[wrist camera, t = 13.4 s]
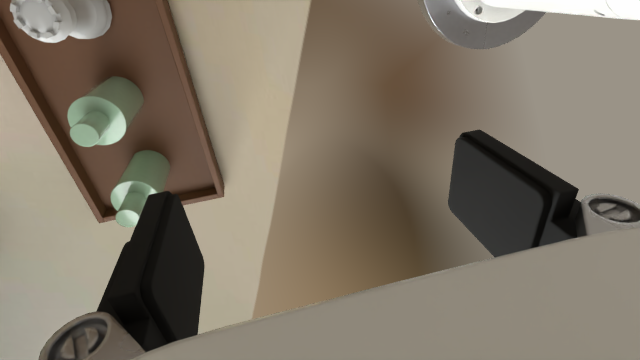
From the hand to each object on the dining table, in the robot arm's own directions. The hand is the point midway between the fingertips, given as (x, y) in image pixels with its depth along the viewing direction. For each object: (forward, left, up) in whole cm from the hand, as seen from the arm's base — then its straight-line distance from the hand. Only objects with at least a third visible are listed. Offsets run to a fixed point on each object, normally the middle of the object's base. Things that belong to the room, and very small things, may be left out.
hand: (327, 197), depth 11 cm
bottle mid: (+14, +2, -25) cm, 29 cm away
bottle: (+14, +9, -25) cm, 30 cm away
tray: (+14, +2, -26) cm, 30 cm away
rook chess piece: (+14, -6, -26) cm, 30 cm away
